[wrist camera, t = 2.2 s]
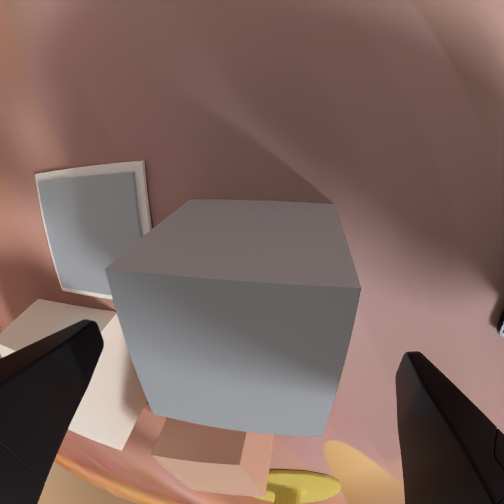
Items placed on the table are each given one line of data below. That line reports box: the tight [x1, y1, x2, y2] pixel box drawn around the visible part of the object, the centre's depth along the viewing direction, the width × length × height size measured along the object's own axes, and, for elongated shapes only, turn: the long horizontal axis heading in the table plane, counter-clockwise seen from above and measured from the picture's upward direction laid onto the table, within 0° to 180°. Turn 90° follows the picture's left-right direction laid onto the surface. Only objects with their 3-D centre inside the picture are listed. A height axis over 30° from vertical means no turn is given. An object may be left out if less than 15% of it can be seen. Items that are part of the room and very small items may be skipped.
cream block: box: [0, 299, 147, 451], centre depth 15 cm, size 7×7×5 cm
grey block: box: [105, 199, 361, 437], centre depth 10 cm, size 6×6×6 cm
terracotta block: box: [151, 417, 274, 497], centre depth 15 cm, size 5×5×5 cm
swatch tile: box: [35, 160, 152, 300], centre depth 13 cm, size 7×7×1 cm
